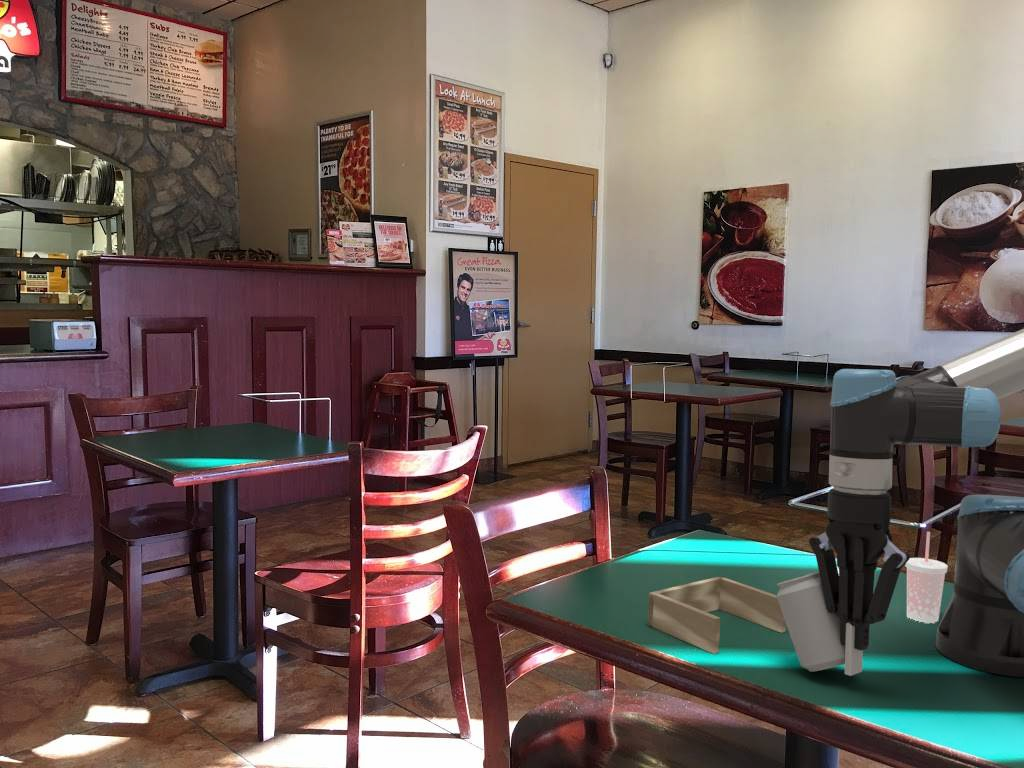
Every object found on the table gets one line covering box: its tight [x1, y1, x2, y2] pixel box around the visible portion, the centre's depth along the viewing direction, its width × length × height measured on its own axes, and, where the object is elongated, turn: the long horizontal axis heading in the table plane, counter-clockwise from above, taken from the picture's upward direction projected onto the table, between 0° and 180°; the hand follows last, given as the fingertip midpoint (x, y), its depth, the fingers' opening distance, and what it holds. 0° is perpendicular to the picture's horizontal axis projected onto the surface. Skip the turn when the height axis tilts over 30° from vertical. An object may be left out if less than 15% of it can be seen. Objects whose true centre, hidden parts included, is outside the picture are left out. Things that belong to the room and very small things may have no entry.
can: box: [776, 571, 845, 672], centre depth 117 cm, size 8×8×12 cm
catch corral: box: [647, 575, 787, 655], centre depth 132 cm, size 16×13×5 cm
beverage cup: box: [904, 531, 949, 624], centre depth 139 cm, size 6×6×14 cm
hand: (853, 672), depth 112 cm, fingers closed
